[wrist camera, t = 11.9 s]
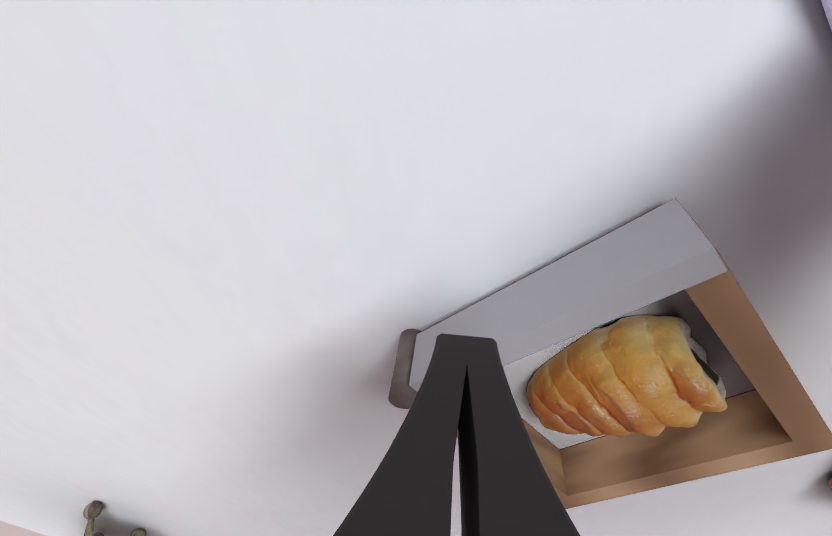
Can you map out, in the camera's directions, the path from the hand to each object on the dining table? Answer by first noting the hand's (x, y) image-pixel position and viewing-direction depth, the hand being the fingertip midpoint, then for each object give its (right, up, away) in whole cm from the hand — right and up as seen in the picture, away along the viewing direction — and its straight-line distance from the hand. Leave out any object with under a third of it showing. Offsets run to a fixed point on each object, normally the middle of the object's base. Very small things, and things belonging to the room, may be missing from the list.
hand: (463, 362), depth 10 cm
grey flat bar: (+4, +2, +8) cm, 10 cm away
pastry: (+10, -3, +12) cm, 16 cm away
